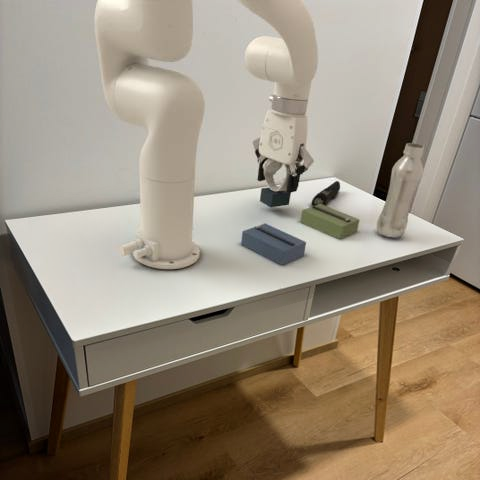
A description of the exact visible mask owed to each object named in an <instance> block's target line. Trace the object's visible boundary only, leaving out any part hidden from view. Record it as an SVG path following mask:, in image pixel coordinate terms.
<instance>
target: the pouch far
mask: <svg viewBox="0 0 480 480" xmlns="http://www.w3.org/2000/svg"><path fill="white" fill-rule="evenodd" d="M360 220H361V219H360V218H357V217H355V216H352V215H350V214H348V213H344V212H342V211H339V210H337V209H334V208H332V207H329V206H327V205H326V206H325V205H322V204H318V205H315V206H312V205H311V206H310V207H307V208H304V209H302V210H301V216H300V223H302V224H303V225H306V226H308V227H309V228H313V229H315V230H317V231H319V232H322V233H324V234H327V235H329V236H331V237H334V238H336V239H338V240H341V239H343V238H346V237H349V236H350V235H353V234H355V233H357V231H358V228H359V225H360Z"/></svg>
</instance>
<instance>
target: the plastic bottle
mask: <svg viewBox="0 0 480 480" xmlns="http://www.w3.org/2000/svg"><path fill="white" fill-rule="evenodd" d="M424 151H425V146H424V145H422V144H419V143H414V142H408V143H406V144H405V147H404V150H403V156H401V157H400V158H399V159H398V160H397V161H396V162H395V163H394V165H393V166H392V168H391V174H390V181H389V187H388V192H387V194H386V195H387V196H386V200H385V203H384V204H383V207H382V211H381V212H380V214H379V216H378V219H377V220H376V230H377V232H378V233H379V234H380V235H381V236H384V237H387V238H394V239H395V238H400V237H401V236H403V234H404V233H405V231H406V230H407V227H408V221H409V218H408V217H409V215H410V210H411V206H412V202H413V198H414V197H415V194H416V191H417V189H418V187H419V185H420V183H421V180H422V178H423V176H424V166H423V163H422V160H421V158H422V157H423V154H424Z"/></svg>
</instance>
